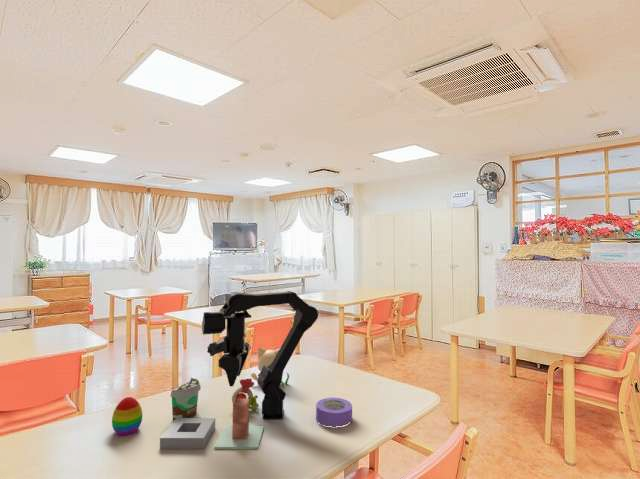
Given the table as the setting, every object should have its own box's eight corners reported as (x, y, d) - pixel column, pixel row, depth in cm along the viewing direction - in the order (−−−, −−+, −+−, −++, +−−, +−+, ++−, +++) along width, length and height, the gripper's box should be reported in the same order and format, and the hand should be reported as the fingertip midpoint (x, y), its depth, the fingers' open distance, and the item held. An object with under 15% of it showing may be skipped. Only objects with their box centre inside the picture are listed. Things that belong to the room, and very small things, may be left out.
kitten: (292, 380, 155) (292, 344, 155) (284, 389, 145) (285, 351, 145) (259, 377, 158) (259, 342, 158) (249, 385, 148) (250, 348, 149)
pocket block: (215, 427, 113) (215, 418, 113) (203, 449, 101) (203, 438, 101) (176, 427, 113) (176, 417, 113) (159, 448, 101) (159, 437, 101)
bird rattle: (241, 421, 122) (265, 405, 126) (228, 392, 121) (253, 377, 125) (236, 413, 128) (259, 398, 132) (224, 386, 126) (247, 372, 130)
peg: (248, 432, 109) (249, 398, 110) (246, 439, 105) (246, 404, 106) (235, 432, 109) (235, 398, 110) (232, 439, 105) (232, 404, 106)
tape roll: (357, 416, 123) (357, 401, 123) (344, 432, 112) (344, 415, 112) (324, 409, 127) (324, 394, 128) (309, 423, 117) (310, 408, 117)
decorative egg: (113, 427, 113) (114, 394, 113) (142, 422, 116) (143, 390, 116) (109, 440, 105) (110, 405, 106) (141, 434, 109) (142, 400, 109)
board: (263, 428, 113) (263, 426, 113) (257, 449, 101) (257, 447, 101) (224, 427, 113) (224, 425, 113) (214, 449, 101) (214, 446, 101)
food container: (187, 424, 115) (188, 392, 116) (169, 422, 117) (170, 390, 117) (207, 407, 127) (207, 378, 128) (191, 406, 129) (191, 377, 129)
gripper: (218, 325, 127) (217, 371, 127) (201, 338, 109) (200, 392, 108) (250, 326, 127) (249, 371, 127) (239, 339, 109) (238, 392, 108)
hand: (234, 380), depth 118 cm, fingers open, 9 cm apart
